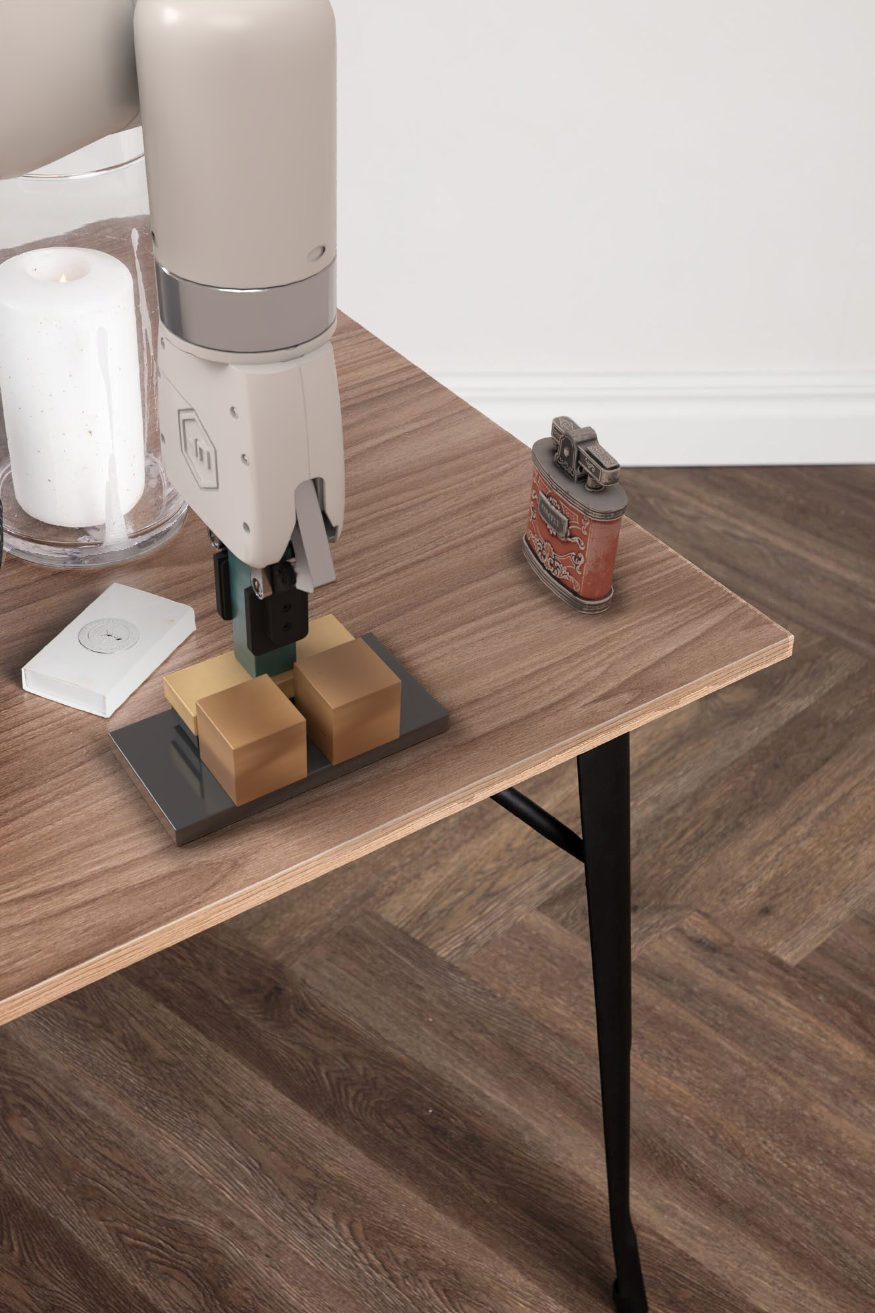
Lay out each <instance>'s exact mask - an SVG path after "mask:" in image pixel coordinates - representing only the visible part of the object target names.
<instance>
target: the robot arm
mask: <svg viewBox="0 0 875 1313" xmlns="http://www.w3.org/2000/svg"><path fill="white" fill-rule="evenodd" d="M336 24H337V23H336V17H335V13H334V9H333V6H332V4H331V1H330V0H0V181H6V180H12V179H16V178H20V177H22V176H25V175H27V174H30V173H32V172H34V171H36V170H39V169H41V168H44V167H46V166H48V165H51V164H52V163H55V162H57V161H59V160H61V159H63V158H65V157H67V156H69V155H71V154H73V153H75V152H77V151H79V150H81V149H83V148H85V147H88V146H89V145H91V144H93V143H95V142H97V141H100V140H101V139H104V138H106V137H107V136H111V135H114V134H118V133H122V132H126V131H129V130H132V129H136V128H139V127H141V132H142V141H143V142H142V143H143V155H144V166H145V175H146V188H147V199H148V209H149V221H150V232H151V241H152V252H153V254H152V255H153V264H154V265H153V266H154V275H155V276H154V277H155V288H156V300H157V310H158V319H159V320H158V332H157V354H156V355H157V357H156V358H157V360H156V361H157V364H156V365H157V398H158V399H157V400H158V421H159V423H158V424H159V439H160V455H161V464H162V469H163V471H164V474H165V476H166V478H167V480H168V481H169V483H170V485H171V486H172V487H173V488H174V490H175V491H176V492H177V494H178V495H179V496H180V497H181V498H182V500H184V502H185V503H186V504H187V505H188V506H189V507H190V508H191V509H192V511H193V512H194V513H195V514H196V515H197V516H198V517H199V518H200V520H201V521H202V522H203V523H204V525H206V530H207V531H206V532H207V538H208V541H209V543H210V546H211V547H212V548H213V549H214V550H215V551H218V552H215V553H212V557H213V558H212V560H213V562H212V563H213V576H214V587H215V590H214V591H215V602H216V603H215V604H216V613H217V615H218V616H219V617H220V618H221V619H222V620H223V621H232V607H231V591H230V575H229V560H228V549H229V550H230V551H231V552H232V553H233V554H234V555H235V556H236V557H238V558H239V559H240V560H241V561H243V562H244V563H246V564H247V565H249V566H250V573H251V584H252V586H249V587H248V588H245V589H244V599H245V617H246V635H247V648H248V649H249V650H250V652H251V653H252V654H253V655H254V656H260V655H262V654H265V653H268V652H270V651H273V650H275V649H278V648H281V647H283V646H286V645H289V644H291V643H294V642H296V641H299V640H302V639H304V638H305V637H306V636H307V635H308V632H309V622H310V621H309V594H311V595H312V594H315V593H318V592H321V591H324V590H326V589H328V588H331V587H334V586H336V585H337V584H338V583H337V582H338V579H337V573H336V569H335V565H334V560H333V557H332V552H331V548H330V544H334V543H337V542H338V540H339V538H340V536H341V534H342V531H343V529H344V528H343V527H344V521H345V511H346V510H345V509H346V473H345V472H346V467H345V451H344V450H345V449H344V448H345V447H344V435H343V434H344V433H343V432H344V430H343V419H342V408H341V399H340V398H341V397H340V389H339V381H338V374H337V373H338V372H337V367H336V360H335V352H334V348H333V343H332V342H331V340H330V339H331V338H333V336H334V334H335V332H336V329H337V325H338V291H337V290H338V278H337V276H338V274H337V273H338V271H337V270H338V268H337V267H338V265H337V264H338V262H337V261H338V257H337V256H338V251H337V249H338V248H337V246H338V245H337V244H338V241H337V240H338V236H337V235H338V125H337V124H338V45H337V25H336ZM329 543H330V544H329ZM290 547H291V559H288V560H285V561H282V562H280V563H277V562H279V561H280V559H281V558H282V556H283V554H284V552H285V550H286V549H288V548H290ZM219 550H221V551H219ZM273 563H277V564H275V565H274V566H272V567H271V564H273Z"/></svg>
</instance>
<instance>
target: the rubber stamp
mask: <svg viewBox="0 0 875 1313" xmlns="http://www.w3.org/2000/svg"><path fill="white" fill-rule="evenodd" d="M288 559H291V547H290V548H288V549H286V550H285V552H284V554H283V556H282V558H281V559H280V561H279V562H277V563H280V562H282V561H285V560H288ZM228 560H229V575H230V591H231V607H232V620H231V622H232V637H233V650H230V651H227V652H225V653H222V654H220V655H216V656H214V657H211V658H209V659H206V660H204V661H201V662H199V663H195V664H193V665H190V666H187V667H185V668H181V669H179V670H177V671H174V672H171V673H168V674H166V675H164V676H163V677H162V680H163V691H164V697H165V698H166V699H167V701H168V702H169V704H170V707H171V708H172V715H173V716H174V718H175V719H176V720H177V722H178V723H179V724H180V726H181V727H182V728H183V730H184V731H185V732H186V733H187V735H188V736H189V737H190V739H191V740H192V741H193V743H194V744H195V745H196V747H197V748H198V749H199V748H200V746H199V735H198V724H197V713H196V701H197V700H199V699H202V698H204V697H207V696H210V695H212V694H215V693H217V692H220V691H222V690H225V689H228V688H230V687H233V686H235V685H238V684H241V683H243V682H246V681H248V680H251V679H253V678H256V677H259V676H261V675H264V674H267V675H268V676H269V677H270V678H271V679H272V680H273V682H274V683H275V684H276V685H277V686H278V687H279V689H280V690H281V691H282V692H283V693H284V694H285V696H286V697H287V698H288V699H289V700H290V701H291V703H292V704H293V705H294V706H295V704H294V666H293V663H294V662H297V661H299V660H302V659H305V658H307V657H310V656H312V655H315V654H318V653H320V652H323V651H325V650H328V649H331V648H333V647H336V646H338V645H341V644H344V643H346V642H349V641H351V640H354V639H355V637H354V635H353V634H352V633H351V632H349V630H348V629H347V628H346V627H345V626H344V625H343V624H342V623H341V621H339V620H338V619H337V617H335V615H334V614H333V613H329V614H326V615H323V616H321V617H318V618H315V619H313V620H310V621H309V632H308V635H307V636H306V637H305V638H304V639H302V640H299V641H296V642H294V643H291V644H289V645H286V646H283V647H281V648H278V649H275V650H273V651H270V652H268V653H265V654H262V655H260V656H254V655H253V654H252V653H251V652H250V650H249V649H248V648H247V635H246V617H245V599H244V589H245V588H248V587H249V586H252V584H251V573H250V566H249V565H247V564H246V563H244V562H243V561H241V560H240V559H239V558H238V557H236V556H235V555H234V554H233V553H232V552H231V551H230V550H229V549H228ZM277 563H273V564H271V567H272V566H274V565H275V564H277Z"/></svg>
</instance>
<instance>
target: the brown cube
mask: <svg viewBox="0 0 875 1313" xmlns="http://www.w3.org/2000/svg"><path fill="white" fill-rule="evenodd" d="M293 666H294V704H295V707H296V709H297V710H298V711H299V712H300V713H301V714H302V716H303V717H304V718H305V719H306V733H307V735H308V736H309V737H310V738H311V739H312V741H313V742H314V743H315V744H316V745H317V747H318V748H319V749H320V750H321V751H322V753H323V754H324V755H325V756H326V757H327V759H328V760H329V761H330V762H331V763H332V765H336V764H339V763H341V762H343V761H346V760H348V759H350V758H353V757H355V756H357V755H360V754H362V753H364V752H367V751H369V750H371V749H374V748H376V747H378V746H381V745H383V744H385V743H388V742H390V741H392V740H395V739H397V738H399V730H400V705H401V680H400V679H399V678H398V677H397V676H396V675H395V674H394V673H393V671H392V670H391V669H390V668H389V667H388V666H387V665H386V664H385V663H384V662H383V661H382V660H381V659H380V658H379V656H378V655H377V654H376V653H375V652H374V651H373V650H372V649H371V648H370V647H369V646H368V645H367V644H366V643H365V642H364V640H363V639H362V638H361V637H359V638H357V639H354V640H351V641H349V642H346V643H344V644H341V645H338V646H336V647H333V648H331V649H328V650H325V651H323V652H320V653H318V654H315V655H312V656H310V657H307V658H305V659H302V660H299V661H297V662H294V663H293Z"/></svg>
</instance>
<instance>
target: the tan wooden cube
mask: <svg viewBox="0 0 875 1313" xmlns="http://www.w3.org/2000/svg"><path fill="white" fill-rule="evenodd" d="M196 713H197V724H198V735H199V746H200V757H201V760H202V761H203V762H204V763H205V765H206V766H207V767H208V769H209V770H210V771H211V773H212V774H213V775H214V777H215V778H216V779H217V781H218V782H219V783H220V785H221V786H222V787H223V789H224V790H225V791H226V793H227V794H228V795H229V797H230V798H231V799H232V801H233V802H234V803H235V805H236V806H240V805H243V804H245V803H247V802H250V801H252V800H254V799H257V798H259V797H261V796H264V795H266V794H268V793H271V792H273V791H275V790H278V789H280V788H282V787H285V786H287V785H289V784H292V783H294V782H296V781H299V780H301V779H303V778H305V777H307V743H306V719H305V718H304V717H303V716H302V714H301V713H300V712H299V711H298V710H297V709H296V707H295V706H294V705H293V704H292V703H291V701H290V700H289V699H288V698H287V697H286V696H285V694H284V693H283V692H282V691H281V690H280V689H279V687H278V686H277V685H276V684H275V683H274V682H273V680H272V679H271V678H270V677H269V676H268V675H267V674H264V675H261V676H259V677H256V678H253V679H251V680H248V681H246V682H243V683H241V684H238V685H235V686H233V687H230V688H228V689H225V690H222V691H220V692H217V693H215V694H212V695H210V696H207V697H204V698H202V699H199V700H197V701H196Z"/></svg>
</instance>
